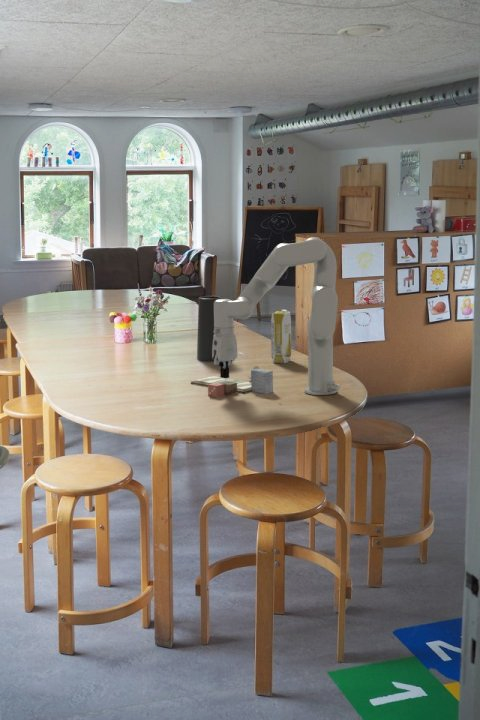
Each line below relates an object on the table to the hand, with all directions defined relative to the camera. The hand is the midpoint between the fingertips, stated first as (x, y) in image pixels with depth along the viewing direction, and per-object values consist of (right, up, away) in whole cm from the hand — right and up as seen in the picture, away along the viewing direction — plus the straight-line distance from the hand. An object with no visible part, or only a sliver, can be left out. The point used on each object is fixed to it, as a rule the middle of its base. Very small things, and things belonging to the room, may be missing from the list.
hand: (224, 377), depth 345 cm
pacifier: (+13, -2, +21) cm, 25 cm away
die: (-2, -4, -1) cm, 5 cm away
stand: (+1, -6, +2) cm, 6 cm away
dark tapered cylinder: (-7, +7, +71) cm, 71 cm away
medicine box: (+15, -6, +2) cm, 16 cm away
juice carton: (+25, +6, +60) cm, 66 cm away
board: (+1, -4, +14) cm, 15 cm away
